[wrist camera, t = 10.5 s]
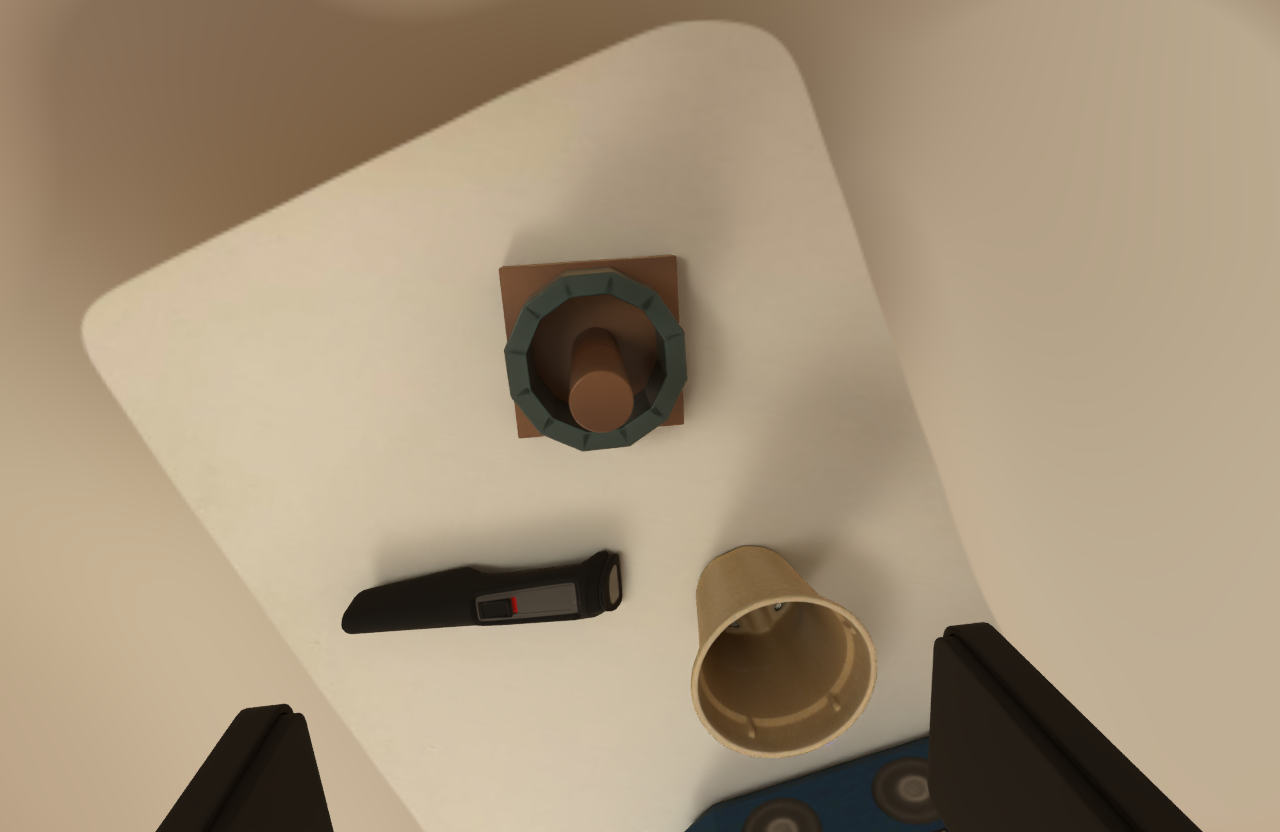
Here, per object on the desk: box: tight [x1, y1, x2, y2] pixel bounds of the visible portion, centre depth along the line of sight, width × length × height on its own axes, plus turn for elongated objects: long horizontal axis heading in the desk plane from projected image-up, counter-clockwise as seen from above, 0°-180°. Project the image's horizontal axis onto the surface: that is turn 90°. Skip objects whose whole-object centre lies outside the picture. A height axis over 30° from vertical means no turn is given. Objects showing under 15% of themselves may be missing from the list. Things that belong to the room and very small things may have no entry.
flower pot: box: [691, 546, 877, 758], centre depth 38 cm, size 9×9×9 cm
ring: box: [504, 266, 687, 451], centre depth 34 cm, size 8×8×4 cm
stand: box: [499, 255, 684, 438], centre depth 31 cm, size 9×9×12 cm
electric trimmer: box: [341, 550, 622, 634], centre depth 39 cm, size 4×16×3 cm, turn 94°
